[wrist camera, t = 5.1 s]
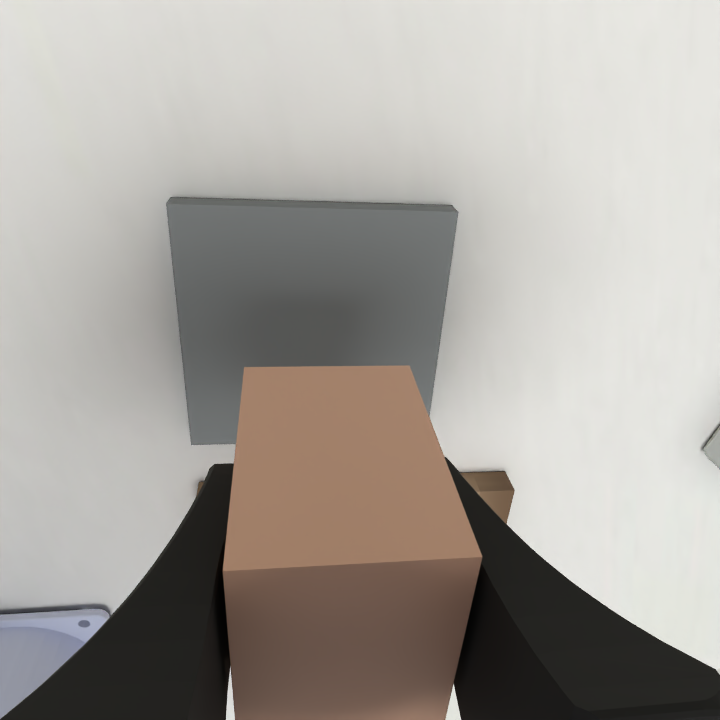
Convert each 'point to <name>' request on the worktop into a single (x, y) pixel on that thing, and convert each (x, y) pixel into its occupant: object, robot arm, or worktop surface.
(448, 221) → the slate mat
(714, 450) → the skincare box
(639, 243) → the worktop surface
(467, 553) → the terracotta block
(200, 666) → the robot arm
